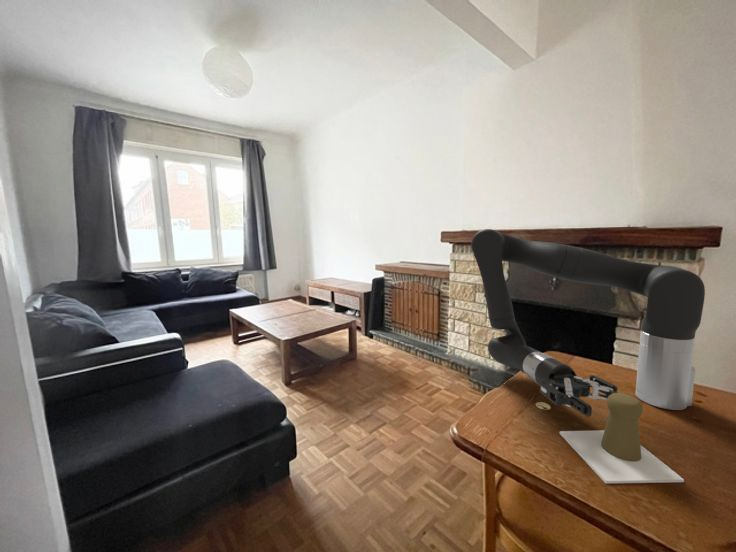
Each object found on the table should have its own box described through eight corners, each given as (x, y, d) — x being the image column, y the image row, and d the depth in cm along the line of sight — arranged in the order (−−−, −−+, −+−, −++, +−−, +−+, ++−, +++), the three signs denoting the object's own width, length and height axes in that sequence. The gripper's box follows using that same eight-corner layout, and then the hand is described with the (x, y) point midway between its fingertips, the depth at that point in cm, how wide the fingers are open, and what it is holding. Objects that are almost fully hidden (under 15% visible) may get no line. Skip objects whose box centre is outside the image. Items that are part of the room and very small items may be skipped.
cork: (593, 441, 61) (596, 390, 59) (620, 437, 61) (624, 387, 60) (620, 463, 55) (625, 407, 53) (650, 459, 55) (656, 404, 54)
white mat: (621, 432, 64) (621, 429, 64) (683, 482, 51) (684, 479, 51) (559, 433, 64) (559, 431, 64) (605, 483, 51) (605, 480, 51)
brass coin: (542, 402, 76) (542, 401, 76) (553, 409, 73) (553, 407, 73) (532, 405, 75) (532, 404, 75) (544, 412, 72) (544, 410, 72)
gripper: (521, 360, 72) (578, 395, 57) (573, 354, 75) (642, 386, 59) (520, 389, 73) (576, 432, 58) (572, 382, 76) (639, 421, 60)
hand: (609, 409), depth 58 cm, fingers open, 8 cm apart
